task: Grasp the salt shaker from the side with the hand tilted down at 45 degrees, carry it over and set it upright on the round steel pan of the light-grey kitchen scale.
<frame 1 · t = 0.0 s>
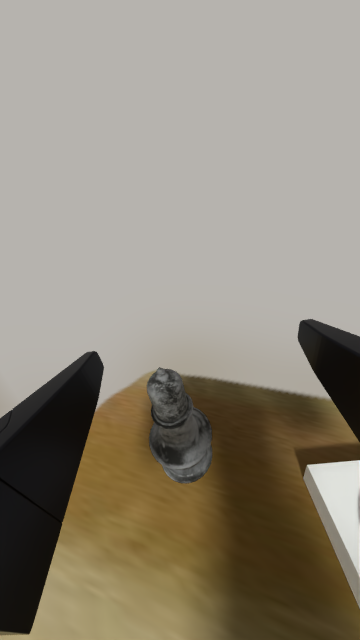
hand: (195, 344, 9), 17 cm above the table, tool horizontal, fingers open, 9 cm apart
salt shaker: (186, 453, 21), on the table
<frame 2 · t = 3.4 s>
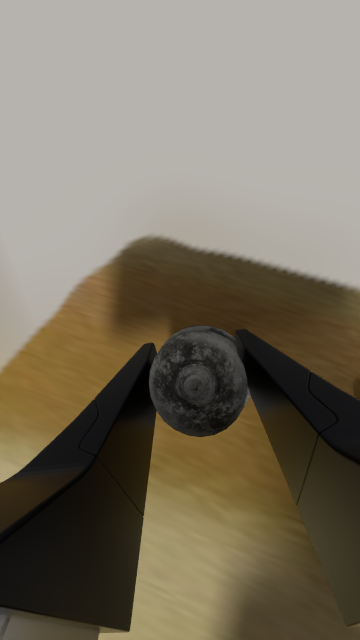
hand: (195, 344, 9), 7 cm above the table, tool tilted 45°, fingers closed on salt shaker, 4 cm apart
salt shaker: (202, 372, 16), on the table, touching gripper
when the fingers open (11 cm above the table, at t = 6.3 s): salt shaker stays where it is, resting on scale.
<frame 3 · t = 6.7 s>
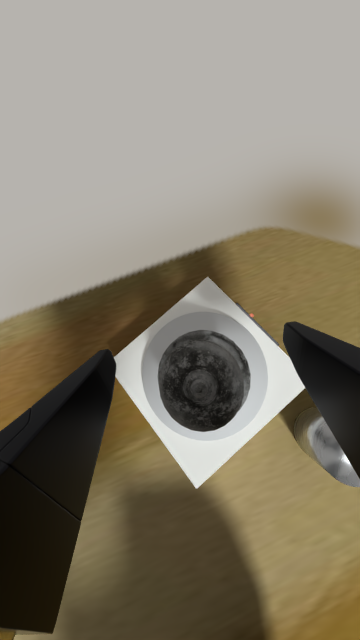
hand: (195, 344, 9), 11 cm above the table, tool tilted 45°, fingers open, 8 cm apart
scale: (203, 371, 20), on the table
spacer: (319, 432, 17), on the table
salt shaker: (203, 373, 17), point 3 cm above the table, touching scale
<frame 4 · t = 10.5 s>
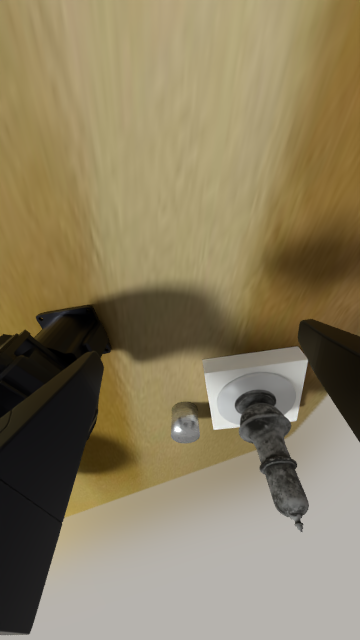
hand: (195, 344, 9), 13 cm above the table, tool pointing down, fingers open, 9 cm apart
scale: (249, 385, 30), on the table
spacer: (184, 410, 33), on the table
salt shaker: (254, 401, 27), point 3 cm above the table, touching scale
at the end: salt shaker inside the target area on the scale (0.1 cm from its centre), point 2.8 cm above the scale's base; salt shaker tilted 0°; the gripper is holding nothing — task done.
